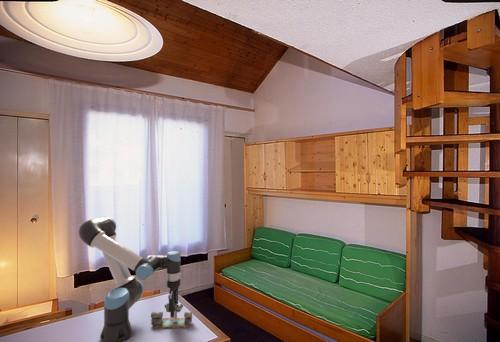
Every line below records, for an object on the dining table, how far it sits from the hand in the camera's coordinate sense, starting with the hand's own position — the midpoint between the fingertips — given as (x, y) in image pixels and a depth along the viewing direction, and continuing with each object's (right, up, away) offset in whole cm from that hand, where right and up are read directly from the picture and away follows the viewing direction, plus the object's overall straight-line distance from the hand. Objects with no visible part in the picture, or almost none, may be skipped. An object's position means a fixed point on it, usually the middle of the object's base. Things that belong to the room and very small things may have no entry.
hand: (173, 320), depth 153 cm
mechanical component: (0, -1, 0) cm, 1 cm away
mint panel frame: (0, -2, +1) cm, 2 cm away
